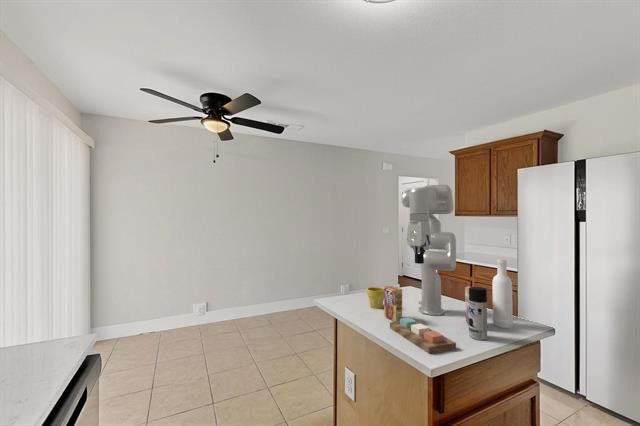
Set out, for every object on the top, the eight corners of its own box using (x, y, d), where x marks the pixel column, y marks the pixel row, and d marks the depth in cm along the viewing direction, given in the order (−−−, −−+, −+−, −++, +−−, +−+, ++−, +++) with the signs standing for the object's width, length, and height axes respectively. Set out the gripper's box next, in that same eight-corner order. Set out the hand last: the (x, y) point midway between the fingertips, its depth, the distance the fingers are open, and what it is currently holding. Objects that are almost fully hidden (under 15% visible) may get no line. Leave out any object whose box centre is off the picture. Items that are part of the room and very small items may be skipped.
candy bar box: (464, 320, 138) (464, 286, 139) (476, 321, 137) (476, 286, 137) (469, 329, 128) (469, 291, 128) (482, 330, 126) (482, 292, 126)
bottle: (513, 329, 127) (512, 261, 128) (492, 326, 131) (491, 259, 132) (512, 324, 134) (511, 259, 134) (492, 320, 138) (491, 257, 139)
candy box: (402, 321, 138) (402, 288, 138) (395, 322, 136) (395, 289, 136) (390, 315, 146) (390, 285, 146) (383, 316, 144) (383, 285, 144)
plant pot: (388, 305, 162) (388, 288, 162) (381, 310, 153) (381, 292, 153) (371, 303, 167) (371, 286, 168) (363, 307, 159) (363, 289, 159)
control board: (389, 328, 129) (389, 322, 129) (412, 325, 132) (412, 319, 133) (429, 353, 104) (429, 347, 104) (456, 349, 108) (455, 342, 108)
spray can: (465, 334, 122) (464, 286, 122) (480, 333, 122) (480, 286, 123) (475, 340, 115) (474, 290, 116) (491, 340, 116) (490, 290, 116)
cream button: (411, 332, 120) (411, 325, 120) (421, 330, 121) (421, 323, 122) (418, 336, 115) (418, 329, 115) (429, 335, 117) (429, 327, 117)
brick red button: (423, 339, 112) (423, 332, 112) (434, 338, 114) (434, 330, 114) (432, 345, 108) (432, 337, 108) (443, 343, 109) (443, 335, 109)
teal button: (399, 325, 127) (399, 318, 128) (409, 324, 129) (409, 317, 129) (406, 329, 123) (406, 322, 123) (416, 328, 124) (416, 321, 124)
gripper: (400, 218, 125) (400, 261, 124) (423, 218, 111) (423, 266, 110) (415, 218, 127) (415, 260, 127) (439, 218, 113) (439, 265, 112)
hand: (419, 263), depth 118 cm, fingers closed
